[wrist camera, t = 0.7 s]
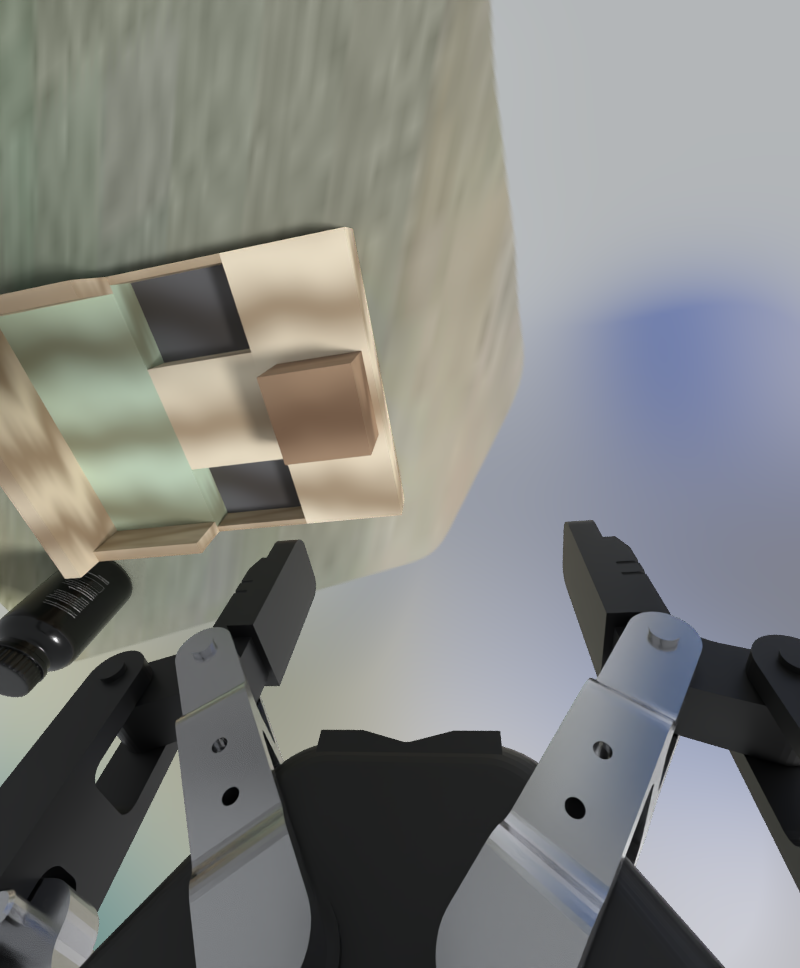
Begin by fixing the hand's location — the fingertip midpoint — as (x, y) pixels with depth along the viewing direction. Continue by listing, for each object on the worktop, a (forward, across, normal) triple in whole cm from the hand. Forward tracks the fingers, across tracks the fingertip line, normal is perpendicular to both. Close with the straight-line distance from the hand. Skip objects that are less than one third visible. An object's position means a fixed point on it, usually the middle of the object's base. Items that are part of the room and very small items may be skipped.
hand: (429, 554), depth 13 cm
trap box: (+20, +18, 0) cm, 27 cm away
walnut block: (+18, +8, 0) cm, 20 cm away
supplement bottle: (+21, +37, +16) cm, 45 cm away
